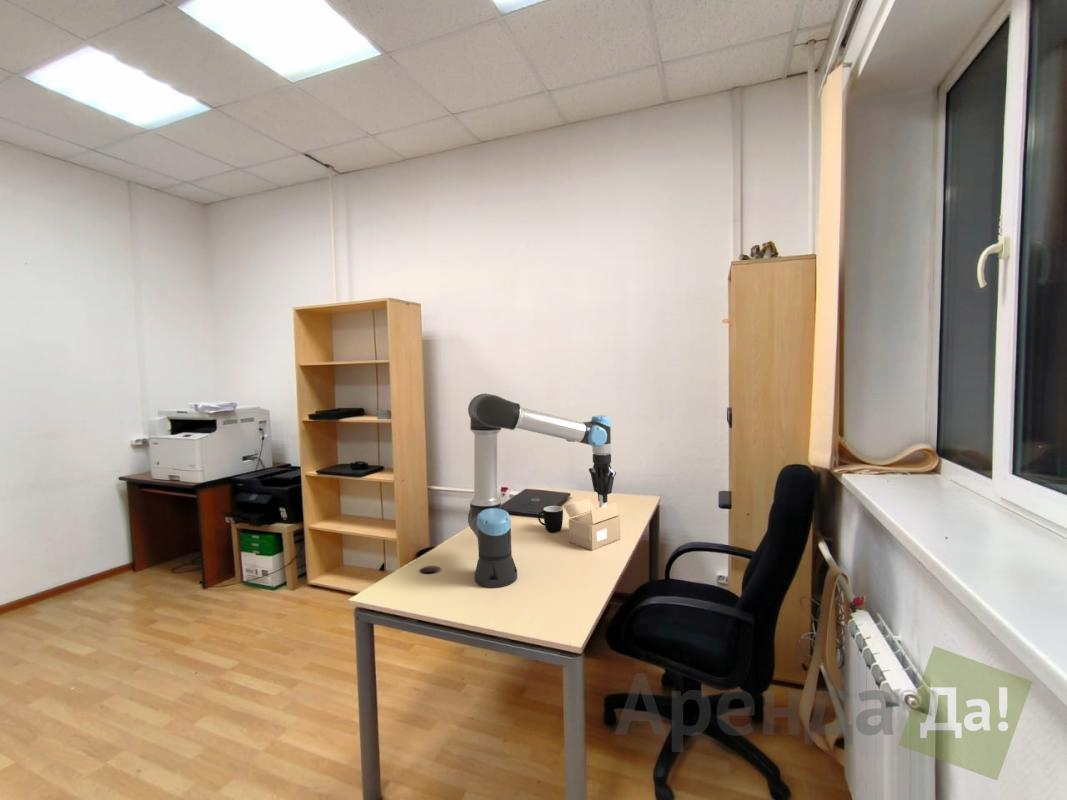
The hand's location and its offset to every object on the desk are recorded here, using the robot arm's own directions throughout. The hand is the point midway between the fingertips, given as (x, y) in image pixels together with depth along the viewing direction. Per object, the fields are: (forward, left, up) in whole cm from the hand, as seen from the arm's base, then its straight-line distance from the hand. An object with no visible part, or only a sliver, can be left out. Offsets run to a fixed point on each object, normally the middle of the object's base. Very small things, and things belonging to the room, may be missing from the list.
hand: (603, 509), depth 192 cm
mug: (-4, +28, -15) cm, 32 cm away
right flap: (0, -1, -1) cm, 1 cm away
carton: (0, +5, -15) cm, 15 cm away
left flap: (0, +13, -2) cm, 13 cm away
